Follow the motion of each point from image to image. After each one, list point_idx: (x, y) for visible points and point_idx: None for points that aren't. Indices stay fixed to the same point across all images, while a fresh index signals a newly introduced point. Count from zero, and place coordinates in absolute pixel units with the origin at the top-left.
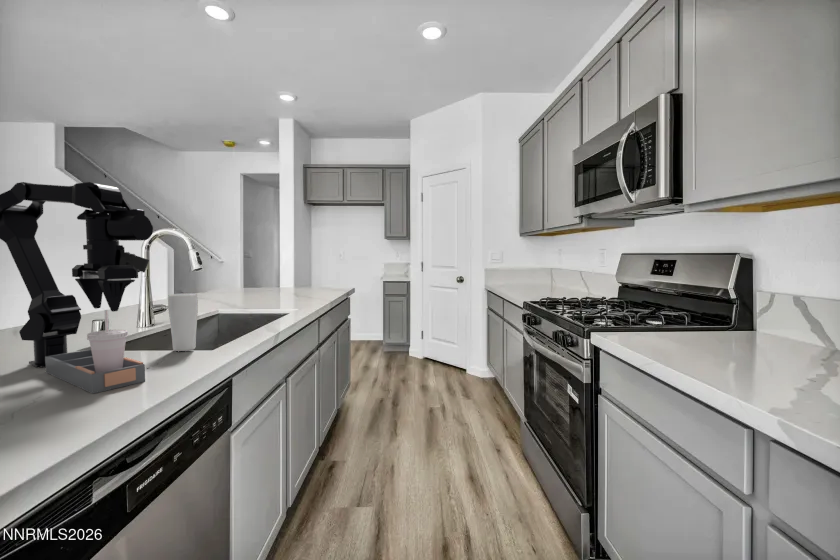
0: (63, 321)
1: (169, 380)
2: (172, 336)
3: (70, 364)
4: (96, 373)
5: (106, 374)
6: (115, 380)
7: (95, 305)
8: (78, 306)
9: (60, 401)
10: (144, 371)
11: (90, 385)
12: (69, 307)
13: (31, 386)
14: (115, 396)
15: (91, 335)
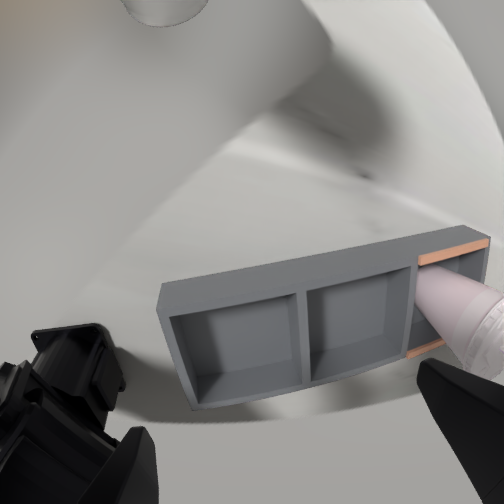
0: (98, 452)
1: (486, 188)
2: (158, 6)
3: (362, 367)
4: None
5: None
6: None
7: (153, 458)
8: (14, 452)
9: (444, 347)
10: (478, 232)
11: None
12: (50, 479)
13: (312, 393)
14: (486, 283)
15: (499, 372)
